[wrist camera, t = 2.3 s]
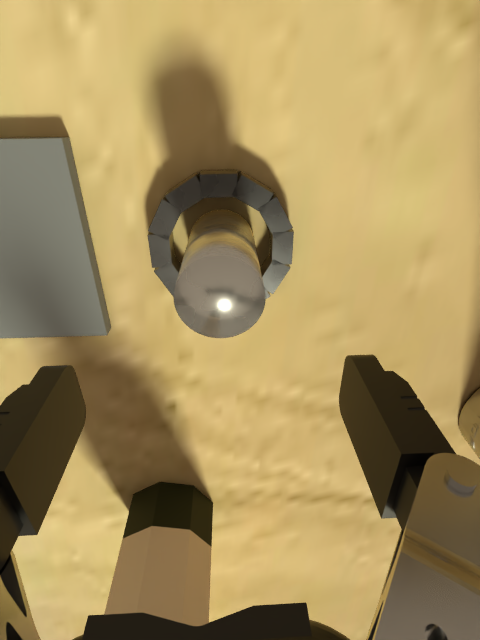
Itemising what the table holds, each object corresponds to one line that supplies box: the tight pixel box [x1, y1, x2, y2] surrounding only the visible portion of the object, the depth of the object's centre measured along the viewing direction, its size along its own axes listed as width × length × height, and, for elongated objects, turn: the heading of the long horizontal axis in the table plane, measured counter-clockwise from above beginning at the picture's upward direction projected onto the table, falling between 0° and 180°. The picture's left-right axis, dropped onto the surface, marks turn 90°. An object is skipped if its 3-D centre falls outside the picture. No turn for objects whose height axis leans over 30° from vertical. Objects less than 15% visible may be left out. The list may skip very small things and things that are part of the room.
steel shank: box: [174, 209, 266, 338], centre depth 19 cm, size 4×4×8 cm
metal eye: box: [148, 170, 294, 299], centre depth 22 cm, size 8×8×2 cm
